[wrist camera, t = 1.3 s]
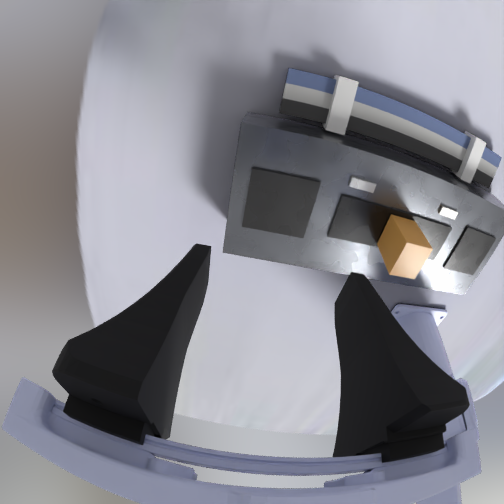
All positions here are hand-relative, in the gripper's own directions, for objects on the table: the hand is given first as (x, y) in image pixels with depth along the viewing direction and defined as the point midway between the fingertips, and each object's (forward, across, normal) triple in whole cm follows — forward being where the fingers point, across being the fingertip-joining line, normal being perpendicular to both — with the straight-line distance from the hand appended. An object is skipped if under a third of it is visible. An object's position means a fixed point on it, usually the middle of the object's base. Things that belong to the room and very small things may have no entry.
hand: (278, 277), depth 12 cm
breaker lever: (+6, -8, 0) cm, 10 cm away
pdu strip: (+10, -8, 0) cm, 13 cm away
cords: (+10, -8, -6) cm, 14 cm away
